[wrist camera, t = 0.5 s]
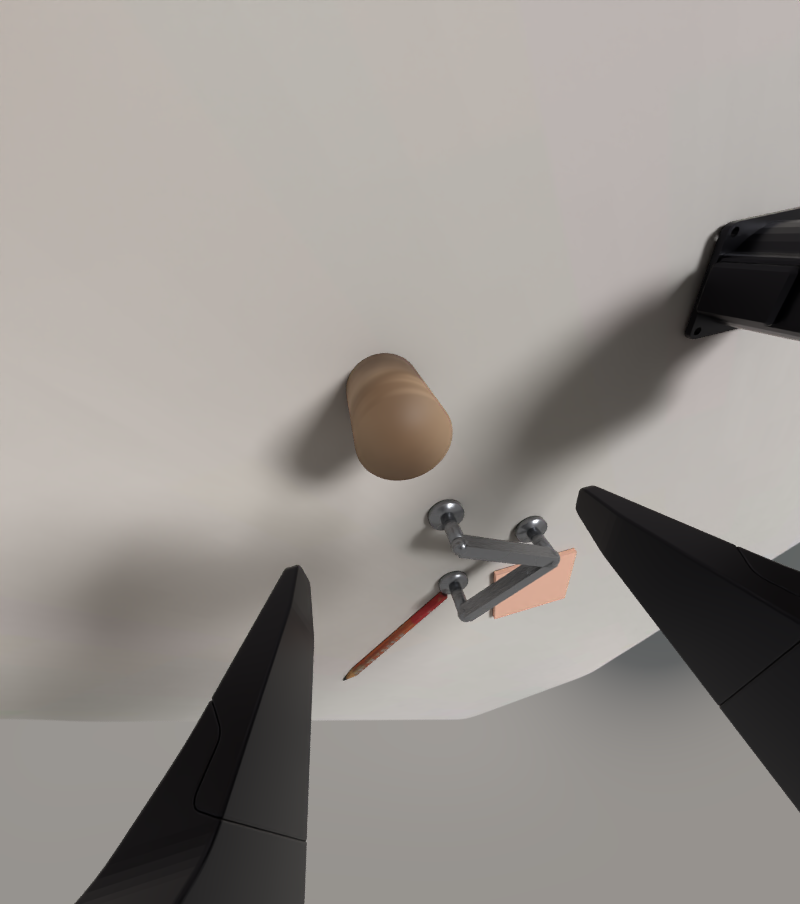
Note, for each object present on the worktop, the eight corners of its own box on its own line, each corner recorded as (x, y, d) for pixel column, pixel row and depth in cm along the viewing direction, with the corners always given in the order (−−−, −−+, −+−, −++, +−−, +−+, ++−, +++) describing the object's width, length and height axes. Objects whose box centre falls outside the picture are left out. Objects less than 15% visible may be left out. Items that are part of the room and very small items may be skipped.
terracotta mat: (573, 548, 34) (576, 551, 33) (562, 594, 39) (564, 598, 39) (493, 571, 33) (496, 575, 33) (492, 615, 38) (494, 619, 38)
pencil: (440, 587, 33) (442, 596, 33) (447, 590, 34) (450, 598, 33) (339, 675, 40) (340, 684, 39) (346, 676, 40) (347, 685, 39)
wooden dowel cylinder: (415, 345, 18) (449, 383, 14) (423, 414, 21) (455, 467, 16) (337, 362, 18) (343, 409, 13) (356, 430, 21) (367, 490, 16)
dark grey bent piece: (552, 471, 27) (586, 505, 23) (537, 564, 34) (561, 600, 31) (426, 505, 26) (442, 545, 22) (439, 592, 33) (453, 633, 30)
